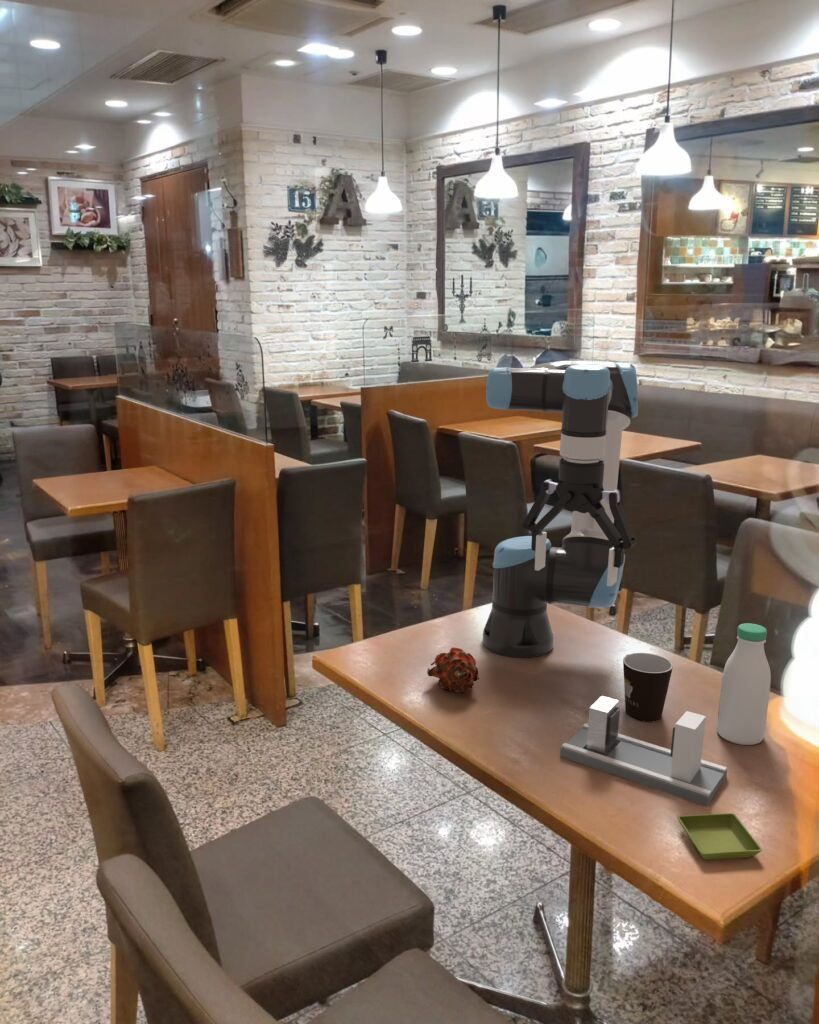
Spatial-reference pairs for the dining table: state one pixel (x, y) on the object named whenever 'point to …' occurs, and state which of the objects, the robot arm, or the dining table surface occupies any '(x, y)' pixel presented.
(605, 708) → the block
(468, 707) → the dining table surface
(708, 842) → the green square tray
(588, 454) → the robot arm
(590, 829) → the dining table surface
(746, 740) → the milk bottle
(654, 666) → the coffee mug
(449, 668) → the dragon fruit
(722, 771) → the rail
